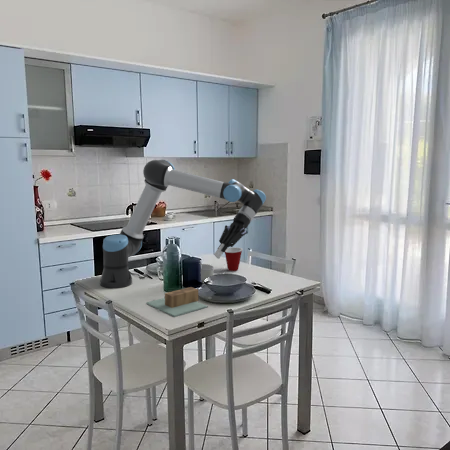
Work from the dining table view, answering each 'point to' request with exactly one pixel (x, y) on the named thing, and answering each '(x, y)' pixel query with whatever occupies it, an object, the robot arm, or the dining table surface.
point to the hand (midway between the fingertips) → (216, 256)
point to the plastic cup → (233, 258)
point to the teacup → (206, 271)
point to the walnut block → (181, 297)
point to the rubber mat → (176, 310)
